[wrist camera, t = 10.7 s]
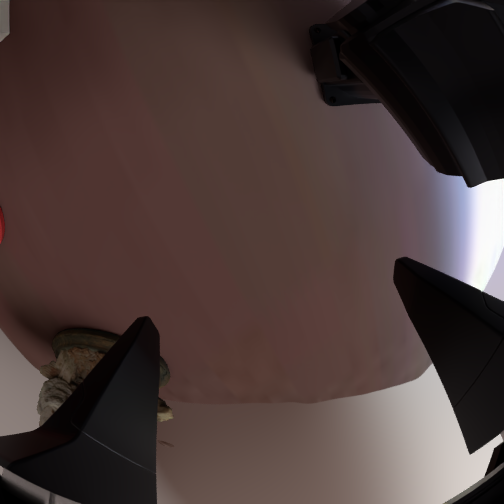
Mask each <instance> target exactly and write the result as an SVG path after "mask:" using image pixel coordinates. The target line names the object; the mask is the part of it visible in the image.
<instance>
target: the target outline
mask: <svg viewBox="0 0 504 504" xmlns="http://www.w3.org/2000/svg"><path fill="white" fill-rule="evenodd" d="M8 34H10V28H9V0H0V42H1V41H2V40H3V39H4V38H5V37H6V36H7V35H8Z"/></svg>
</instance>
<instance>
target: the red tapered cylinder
mask: <svg viewBox="0 0 504 504" xmlns="http://www.w3.org/2000/svg"><path fill="white" fill-rule="evenodd" d="M4 232H5V223H4V217H3V213H2V210H1V207H0V244H1V242H2V240H3V237H4Z"/></svg>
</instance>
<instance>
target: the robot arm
mask: <svg viewBox="0 0 504 504" xmlns="http://www.w3.org/2000/svg"><path fill="white" fill-rule="evenodd" d="M315 28H316V29H318V30H319V33H316V32H315V31H314V29H315ZM309 33H310V37H311V40H312V44H313V47H312V48H311V49H310V51H311V56H312V60H313V64H314V69H315V73H316V78H317V81H319V82H320V83H321V84H322V90H323V95H324V100H325V103H326V104H327V105H329V106H341V105H353V104H367V103H382V104H383V105H384V107H385V108H386V109H387V110H388V111H389V113H390V114H391V115H392V116H393V118H394V119H395V120H396V121H397V123H398V124H399V125H400V127H401V128H402V129H403V130H404V132H405V133H406V134H407V136H408V137H409V139H410V140H411V141H412V143H413V144H414V146H415V147H416V148H417V150H418V151H419V153H420V154H421V156H422V157H423V158H424V159H425V160H426V161H427V162H428V163H429V164H430V165H431V166H433V167H434V168H435V169H436V171H437V172H439V173H442V174H445V175H452V176H463V178H464V180H465V182H466V185H467V187H469V188H471V187H474V186H477V185H479V184H481V183H484V182H486V181H490V180H496V179H502V178H504V0H352V1H351V2H350V3H349V4H347V5H346V6H345V7H344V8H343V9H341V10H340V11H339V12H338V13H337V14H336V15H334V16H333V17H332V18H331V19H330V20H329V21H328V22H327V23H326V24H315V25H313V26H311V27H310V29H309ZM330 97H333V98H334V102H333V103H331V102H330ZM393 280H394V284H395V286H396V288H397V290H398V293H399V295H400V297H401V299H402V302H403V304H404V306H405V309H406V311H407V313H408V316H409V318H410V320H411V321H412V323H413V325H414V327H415V329H416V331H417V333H418V335H419V336H420V338H421V340H422V342H423V344H424V346H425V348H426V350H427V352H428V354H429V356H430V358H431V360H432V362H433V364H434V366H435V369H436V371H437V373H438V375H439V377H440V379H441V382H442V384H443V386H444V388H445V390H446V393H447V395H448V398H449V400H450V402H451V405H452V407H453V410H454V413H455V415H456V418H457V420H458V423H459V426H460V428H461V431H462V434H463V437H464V440H465V443H466V446H467V448H468V451H469V454H472V453H474V452H475V451H476V450H478V449H480V448H481V447H483V446H484V445H485V444H487V443H488V442H489V441H491V440H492V439H494V438H495V437H496V436H498V435H499V434H501V436H502V438H503V442H502V443H501V444H499V445H498V446H497V447H495V448H494V451H493V454H492V457H491V460H490V463H489V465H488V468H487V471H486V473H485V477H484V478H483V479H481V480H480V481H478V482H477V483H475V484H474V485H473V486H471V487H470V488H468V489H467V490H465V491H463V492H462V493H460V494H459V495H457V496H455V497H454V498H452V499H450V500H449V501H447V502H445V503H443V504H504V301H501V300H499V299H497V298H495V297H493V296H491V295H489V294H487V293H485V292H483V291H482V292H481V290H479V289H477V288H475V287H472V286H470V285H468V284H466V283H464V282H462V281H460V280H458V279H455V278H453V277H451V276H449V275H447V274H445V273H442V272H440V271H438V270H436V269H433V268H431V267H429V266H427V265H424V264H422V263H420V262H417V261H415V260H413V259H410V258H408V257H402V258H398V259H396V261H395V266H394V275H393ZM159 381H160V336H159V332H158V330H157V328H156V327H155V325H154V324H153V322H152V320H151V319H150V318H149V317H148V316H144V317H139V318H137V319H136V320H135V321H134V322H133V324H132V325H131V326H130V327H129V328H128V329H127V330H126V331H125V332H124V334H123V335H122V336H121V337H120V338H119V339H118V340H117V341H116V343H115V344H114V345H113V346H112V347H111V348H110V349H109V351H108V352H107V353H106V354H105V355H104V356H103V357H102V359H101V360H100V361H99V362H98V363H97V364H96V366H95V367H94V368H93V369H92V370H91V371H90V373H89V374H88V375H87V376H86V377H85V378H84V380H83V382H81V383H80V384H79V386H78V387H77V388H76V389H75V390H74V392H73V393H72V394H71V395H70V396H69V397H68V398H67V399H66V400H65V402H64V403H63V404H62V405H61V406H60V407H59V408H58V409H57V410H56V411H55V412H54V413H53V414H52V415H51V416H50V417H49V418H48V419H47V420H46V422H45V423H44V424H43V425H42V426H40V427H39V428H37V429H35V430H33V431H30V432H25V433H19V434H14V435H7V436H0V466H2V467H3V468H4V469H3V474H2V476H1V475H0V504H157V492H156V474H155V473H156V434H157V411H158V394H159Z"/></svg>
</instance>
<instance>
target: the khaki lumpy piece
mask: <svg viewBox="0 0 504 504" xmlns="http://www.w3.org/2000/svg"><path fill="white" fill-rule="evenodd" d="M119 338H120V337H119V336H117V335H116V334H113V333H108V332H103V331H98V330H92V329H67V330H64V331H62V332H59V333H58V334H57V335H56V336H55V338H54V339H53V342H52V348H53V351H54V353H55V356H56V359H57V360H56V362H54V361H51V362H50V364H49V365H44V366H41V368H40V373H41V374H42V375H43V376H45V377H47V378H48V379H49V380H48V381H45V382H44V384H43V387H42V389H41V391H40V394H39V401H38V405H37V411H38V413H39V414H40V415H41V416H40V422H39V426H42V425H43V424H44V423H45V422H46V420H47V419H48V418H49V417H50V416H51V415H52V414H53V413H54V412H55V411H56V410H57V409H58V408H59V407H60V406H61V405H62V404H63V403H64V402H65V400H66V399H67V398H68V397H69V396H70V395H71V394H72V393H73V392H74V390H75V389H76V388H77V387H78V386H79V384H80V383H81V382H83V380H84V378H85V377H86V376H87V375H88V374H89V373H90V371H91V370H92V369H93V368H94V367H95V366H96V364H97V363H98V362H99V361H100V360H101V359H102V357H103V356H104V355H105V354H106V353H107V352H108V351H109V349H110V348H111V347H112V346H113V345H114V344H115V343H116V341H117V340H118V339H119ZM169 379H170V372H169V369H168V366H167V364H166V362H165V361H164V359H163V358H162V357H160V381H159V388H162V387H163V386H165V385H166V384H167V383H168V382H169ZM172 418H173V415H172V410H171V408H170V407H169V406H167V405H166V403H165V401H163V400H162V399H161V398H159V397H158V411H157V421H160V422H162V421H163V420H167V421H168V419H172Z"/></svg>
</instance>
